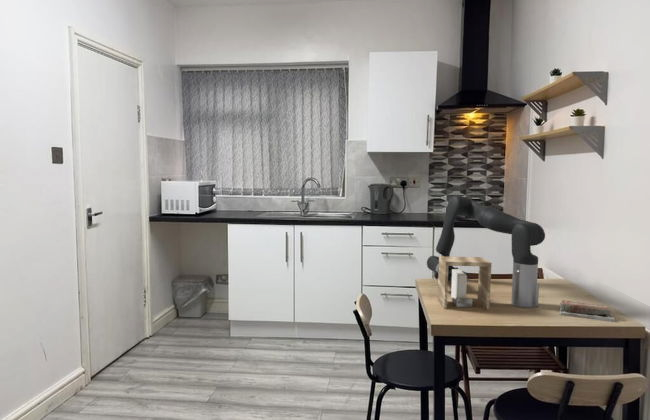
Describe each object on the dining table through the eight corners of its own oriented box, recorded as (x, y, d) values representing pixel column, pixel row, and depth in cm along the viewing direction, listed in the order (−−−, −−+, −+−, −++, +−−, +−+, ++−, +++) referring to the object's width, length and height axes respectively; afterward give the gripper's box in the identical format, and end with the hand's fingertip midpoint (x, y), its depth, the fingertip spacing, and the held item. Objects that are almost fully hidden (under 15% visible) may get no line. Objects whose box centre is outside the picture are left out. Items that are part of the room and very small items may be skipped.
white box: (458, 297, 205) (459, 269, 204) (465, 304, 193) (467, 275, 192) (451, 296, 205) (452, 269, 204) (458, 304, 193) (459, 275, 192)
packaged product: (560, 303, 180) (560, 297, 189) (559, 316, 181) (559, 309, 189) (615, 310, 172) (613, 303, 181) (615, 323, 173) (612, 316, 182)
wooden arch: (480, 301, 198) (481, 257, 196) (489, 309, 186) (491, 262, 185) (437, 300, 198) (439, 256, 197) (444, 308, 186) (445, 261, 185)
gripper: (430, 262, 221) (438, 269, 205) (461, 263, 221) (471, 270, 205) (429, 278, 222) (437, 287, 206) (460, 279, 222) (470, 287, 206)
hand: (454, 278), depth 205 cm, fingers open, 8 cm apart
